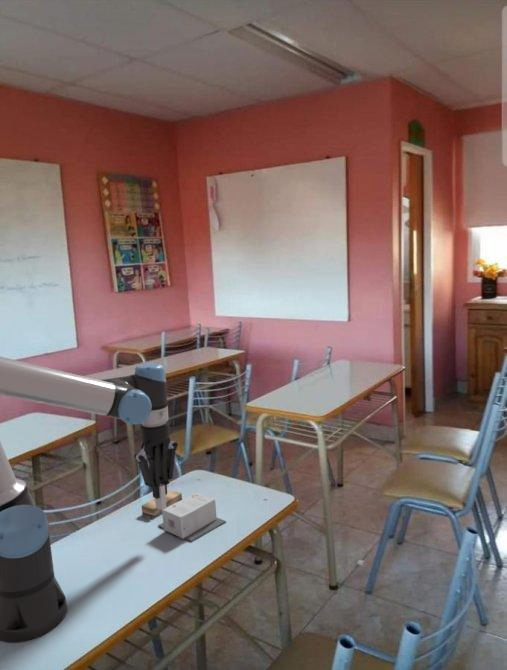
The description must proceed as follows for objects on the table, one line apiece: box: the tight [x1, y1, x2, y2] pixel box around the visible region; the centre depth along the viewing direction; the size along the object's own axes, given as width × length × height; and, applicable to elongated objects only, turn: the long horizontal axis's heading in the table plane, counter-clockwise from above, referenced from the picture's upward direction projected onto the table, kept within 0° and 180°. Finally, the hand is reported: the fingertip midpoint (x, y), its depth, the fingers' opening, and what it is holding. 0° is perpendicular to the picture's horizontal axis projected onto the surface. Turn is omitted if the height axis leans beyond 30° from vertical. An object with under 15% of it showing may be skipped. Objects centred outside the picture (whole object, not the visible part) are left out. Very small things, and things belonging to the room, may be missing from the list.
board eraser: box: [141, 489, 183, 519], centre depth 167 cm, size 12×5×3 cm, turn 145°
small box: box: [161, 492, 218, 540], centre depth 154 cm, size 8×6×13 cm
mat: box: [157, 517, 227, 543], centre depth 156 cm, size 13×14×1 cm
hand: (161, 507), depth 147 cm, fingers closed
